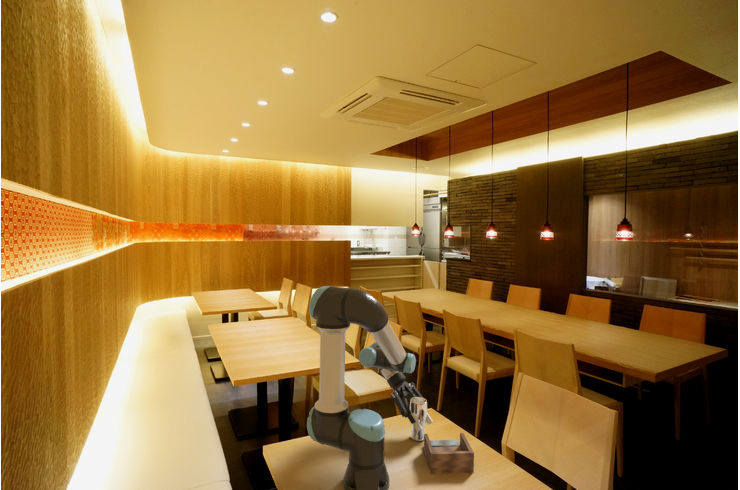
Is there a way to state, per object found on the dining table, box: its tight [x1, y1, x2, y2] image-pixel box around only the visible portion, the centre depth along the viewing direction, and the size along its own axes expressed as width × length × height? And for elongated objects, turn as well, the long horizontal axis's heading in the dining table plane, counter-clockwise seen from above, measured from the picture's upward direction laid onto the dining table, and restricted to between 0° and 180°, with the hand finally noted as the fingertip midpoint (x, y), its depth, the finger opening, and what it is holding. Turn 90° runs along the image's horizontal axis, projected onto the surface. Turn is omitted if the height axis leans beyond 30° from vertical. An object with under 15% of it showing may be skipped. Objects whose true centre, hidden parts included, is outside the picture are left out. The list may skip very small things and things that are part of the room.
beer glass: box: [409, 396, 428, 442], centre depth 159 cm, size 7×7×15 cm
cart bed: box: [423, 432, 475, 475], centre depth 146 cm, size 15×17×7 cm
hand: (425, 426), depth 157 cm, fingers closed on beer glass, 7 cm apart
